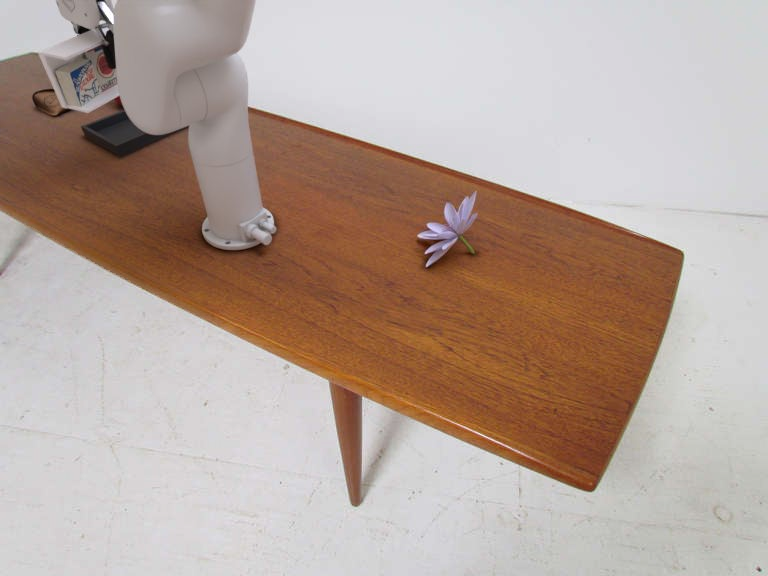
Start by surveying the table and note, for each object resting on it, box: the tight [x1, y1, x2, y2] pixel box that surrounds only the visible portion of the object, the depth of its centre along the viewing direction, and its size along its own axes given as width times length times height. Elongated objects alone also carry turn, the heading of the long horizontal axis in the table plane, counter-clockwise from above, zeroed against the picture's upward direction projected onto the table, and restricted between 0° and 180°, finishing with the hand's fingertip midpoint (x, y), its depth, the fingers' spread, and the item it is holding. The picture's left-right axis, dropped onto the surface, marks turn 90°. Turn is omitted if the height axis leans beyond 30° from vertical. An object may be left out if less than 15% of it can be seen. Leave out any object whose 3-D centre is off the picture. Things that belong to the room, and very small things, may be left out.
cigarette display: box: [37, 28, 120, 114], centre depth 90 cm, size 20×6×9 cm, turn 159°
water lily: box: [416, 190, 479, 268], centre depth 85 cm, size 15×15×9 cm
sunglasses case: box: [31, 86, 72, 117], centre depth 124 cm, size 18×7×7 cm
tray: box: [80, 109, 189, 158], centre depth 115 cm, size 14×24×3 cm, turn 143°
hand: (105, 60), depth 90 cm, fingers closed on cigarette display, 6 cm apart
